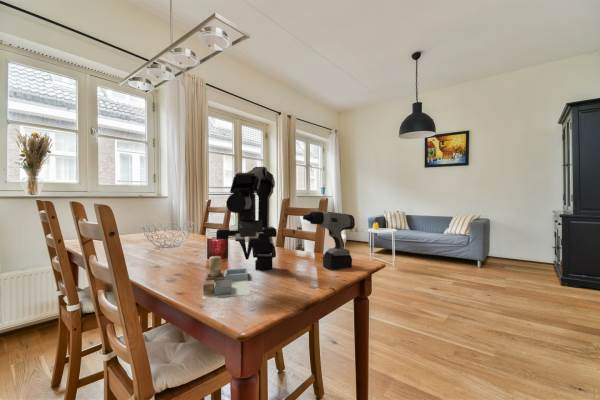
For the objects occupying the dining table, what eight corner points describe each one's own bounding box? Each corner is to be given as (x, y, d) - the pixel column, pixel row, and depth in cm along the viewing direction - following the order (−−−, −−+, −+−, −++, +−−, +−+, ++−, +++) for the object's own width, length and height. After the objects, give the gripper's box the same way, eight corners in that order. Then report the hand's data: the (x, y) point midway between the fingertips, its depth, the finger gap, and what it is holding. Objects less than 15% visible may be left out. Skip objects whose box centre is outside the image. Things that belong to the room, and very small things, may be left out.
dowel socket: (224, 276, 100) (224, 272, 100) (223, 281, 94) (223, 276, 94) (207, 277, 98) (207, 273, 98) (205, 282, 93) (205, 278, 93)
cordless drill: (300, 269, 114) (299, 211, 113) (347, 263, 123) (347, 209, 123) (307, 273, 107) (307, 212, 106) (357, 267, 116) (357, 210, 116)
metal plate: (231, 286, 88) (231, 279, 88) (231, 294, 81) (231, 286, 81) (215, 288, 87) (215, 280, 87) (214, 295, 80) (214, 287, 80)
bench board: (246, 275, 105) (246, 272, 105) (250, 298, 81) (250, 294, 81) (209, 277, 102) (209, 274, 102) (202, 302, 78) (202, 298, 78)
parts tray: (246, 273, 103) (246, 268, 103) (247, 279, 96) (247, 273, 96) (225, 275, 101) (225, 269, 101) (224, 281, 94) (224, 275, 94)
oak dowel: (221, 277, 98) (221, 255, 98) (220, 280, 95) (220, 258, 94) (210, 277, 98) (210, 256, 98) (208, 281, 94) (208, 259, 94)
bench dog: (214, 289, 85) (214, 280, 85) (213, 294, 81) (213, 283, 81) (204, 290, 84) (204, 280, 84) (203, 295, 81) (203, 284, 81)
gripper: (214, 213, 75) (215, 267, 76) (279, 212, 80) (279, 263, 80) (217, 211, 86) (217, 258, 86) (273, 210, 91) (274, 255, 91)
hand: (247, 259), depth 86 cm, fingers closed
